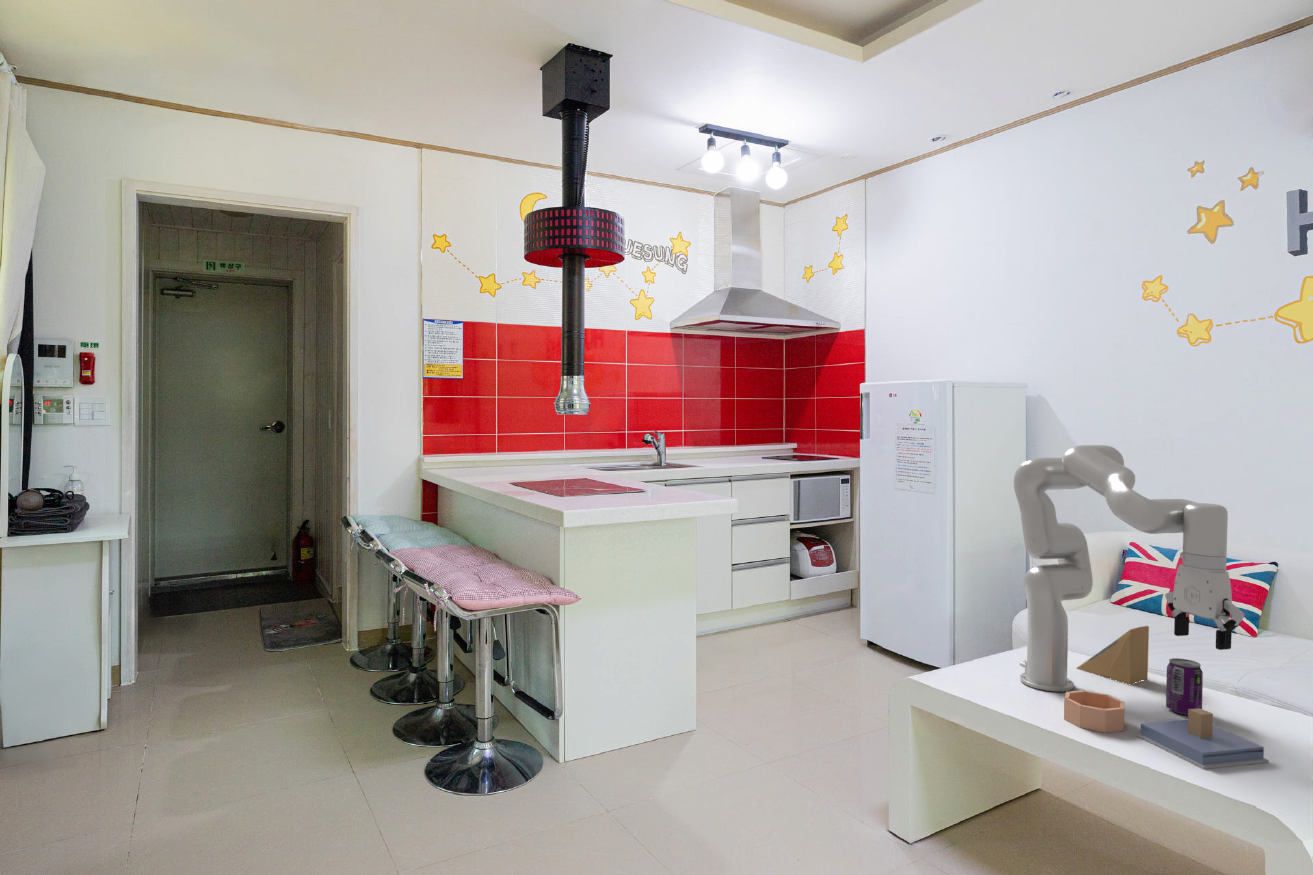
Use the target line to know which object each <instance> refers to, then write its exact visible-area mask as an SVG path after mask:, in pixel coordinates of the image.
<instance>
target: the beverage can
mask: <svg viewBox="0 0 1313 875" xmlns="http://www.w3.org/2000/svg"><path fill="white" fill-rule="evenodd" d="M1203 676H1204V674H1203V669H1202V668H1201V664H1200V662H1197V661H1195V660H1192V659H1187V658H1177V657H1174V658H1169V663H1168V664H1167V666H1166V681H1165V682H1166V688H1165V690H1166V691H1165V692H1166V694H1165V696H1166V697H1165V706H1166V708H1168V709H1169V710H1171V711H1172V712H1174V713H1175V714H1178V713H1179V714H1180V715H1182V714H1184V715H1183V716H1188V709H1197V708H1201V709H1203V688H1204V686H1203V684H1204V682H1203V681H1204V678H1203ZM1179 714H1178V715H1179Z"/></svg>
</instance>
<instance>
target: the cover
mask: <svg viewBox="0 0 1313 875" xmlns="http://www.w3.org/2000/svg"><path fill="white" fill-rule="evenodd" d="M1213 715H1214V713H1213V712H1209V711H1208V710H1205V709H1203V708H1202V709H1201V708H1197V709H1188V715H1187V718H1186V719H1177V720H1176V719H1175V720H1174V719H1173V720H1167V721H1166V720H1164V721H1153V722H1141V723H1140V733H1139V734H1140V735H1142V736H1144V737H1146V738H1148V739H1150V740H1152V741H1154V742H1156V743H1159V744H1161V745H1163V746H1165V747H1167V748H1169V749H1171V750H1173V751H1175V752H1177V753H1179V754H1181V755H1183V756H1185V757H1187V758H1189V759H1191V760H1193V761H1195V762H1197V763H1199V764H1201V765H1209V764H1219V763H1229V762H1239V761H1248V760H1258V759H1264V758H1265V757H1264V753H1265V750H1264V749H1265V748H1264V746H1263V745H1261V744H1258V743H1256V742H1254V741H1251V740H1248V739H1247V738H1244V737H1242V736H1239V735H1237V734H1234V733H1232V732H1230V731H1227V730H1225V729H1222V728H1221V727H1219V726H1216V725H1214V724H1213V723H1214V716H1213Z"/></svg>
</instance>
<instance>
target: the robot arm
mask: <svg viewBox="0 0 1313 875" xmlns="http://www.w3.org/2000/svg"><path fill="white" fill-rule="evenodd" d="M1135 483H1136V474H1135V473H1134V471H1133V470H1132V469H1131V468H1129V467H1128V466H1127V467H1126V466H1125V460H1124V457H1123V454H1121V452H1120V451H1119V450H1118V449H1116V448H1115V447H1113V446H1110V445H1105V444H1098V445H1097V444H1083V445H1082V444H1081V445H1076V446H1073V447H1071V448H1069V449H1068V450H1067V451H1066V452H1065V453H1064V454H1063V456H1062V457H1037V458H1032V459H1031V458H1030V459H1029V460H1025V461H1024V462H1022V463H1021V464H1020V465H1019V466H1018V467H1017V468H1016V470H1015V472H1014V476H1013V489H1014V494H1015V496H1016V499H1017V504H1018V507H1019V511H1020V520H1021V525H1022V526H1021V527H1022V534H1023V540H1024V546H1025V550H1026V553H1027V554H1028V556H1030V557H1031V558H1033V559H1036V560H1057V563H1053V564H1052V563H1051V564H1041V565H1036V566H1034V567H1031V568H1030V569H1028V571H1026V573H1025V574H1024V579H1023V586H1024V592H1025V597H1026V605H1027V606H1026V607H1027V608H1026V609H1027V623H1026V624H1027V630H1026V631H1027V633H1026V634H1027V635H1026V636H1027V637H1026V640H1027V642H1026V647H1027V648H1026V649H1027V650H1026V655H1027V656H1026V658H1025V659H1024V661H1022V660H1021V661H1020V662H1019V666H1021V667H1022V668H1024V672H1022V674H1020V676H1019V679H1020V681H1021V683H1023V684H1024V685H1026V686H1028V687H1031V688H1034V689H1038V690H1041V691H1048V692H1070V691H1073V689H1074V687H1075V683H1074V682H1073V681H1072V679H1070V678H1068V658H1069V657H1068V653H1069V652H1068V651H1069V650H1068V647H1069V646H1068V645H1069V644H1068V643H1069V621H1068V620H1069V618H1068V614H1067V612H1066V609H1065V608H1064V606H1063V603H1062V602H1063V601H1072V600H1082V599H1084V598H1086V597H1088V596H1089V595H1090V594H1091V593H1092V590H1093V584H1094V582H1093V581H1094V580H1093V572H1092V566H1091V565H1092V564H1091V559H1090V553H1089V546H1088V542H1087V538H1086V536H1085V534H1084V532H1083V531H1082V529H1081V528H1080V527H1078V526H1076V525H1075V524H1073V523H1068V522H1058V519H1057V512H1056V508H1055V505H1054V503H1053V501H1052V499H1051V498H1050V496H1049V495H1048V494H1047V493H1046V491H1048V490H1076V489H1080V488H1081V489H1082V488H1085V487H1088V488H1090V489H1092V490H1093V491H1095V493H1097V494H1099V495H1100V496H1103V497H1104V498H1105V501H1106V504H1107V506H1108V507H1109V510H1110V511H1111V512H1112V514H1113V515H1114V516H1115V517H1117V518H1118V519H1119V520H1121V521H1123V522H1124V523H1125V524H1127V525H1129V526H1130V527H1132V528H1134V529H1135V530H1138V531H1140V532H1142V533H1145V534H1149V535H1157V534H1160V535H1161V534H1183V535H1182V552H1180V554H1179V557H1180V559H1182V564H1179V565H1178V568H1177V571H1176V575H1175V579H1174V586H1173V591H1169V592H1167V593H1165V595H1164V597H1165V599H1166V602H1167V607H1168V608H1169V610H1170V611H1171V616H1172V617H1173V618H1174V625H1173V626H1174V627H1173V628H1174V629H1173V634H1174V636H1176V637H1183V636H1185V637H1187V636H1189V633H1190V616H1188V615H1192V616H1194V617H1197V618H1198V617H1199V618H1202V619H1205V620H1213V622H1215V625H1216V626H1217V628H1218V629H1216V631H1215V649H1216V650H1219V651H1222V650H1225V651H1226V650H1231V648H1232V636H1233V635H1232V632H1234V631H1235V630H1236V629H1237V628H1238V627H1239V626H1240V625H1241V622H1242V621H1243V619H1244V618H1245V613H1244V611H1242V610H1241V609H1240V608H1238V607H1237V606H1236V605H1234V604H1233V603H1232V602H1233V595H1232V585H1231V584H1232V583H1231V578H1230V575H1229V571H1227V553H1228V551H1227V550H1228V549H1227V548H1228V520H1229V519H1228V517H1229V516H1228V510H1227V508H1226V507H1225V506H1224V505H1220V504H1216V503H1215V504H1214V503H1208V502H1207V503H1206V502H1195V501H1192V500H1188V499H1184V498H1158V499H1157V498H1155V499H1149V498H1148V497H1146V496H1143V495H1142V494H1140V493H1138V492H1137V491H1136V490H1134V489H1133V488H1134V486H1135Z"/></svg>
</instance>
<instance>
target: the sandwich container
mask: <svg viewBox="0 0 1313 875" xmlns="http://www.w3.org/2000/svg"><path fill="white" fill-rule="evenodd" d="M1149 629H1150V627H1149V625H1144V626H1138V627H1133V628H1130V629H1129V630H1127V631H1126V632H1125V633H1124V634H1121V636H1119V637H1118V638H1117V639H1115V640H1114V641H1113V642H1111V643H1110V644H1108V645H1107V646H1105V647H1104V648H1102V649H1101V650H1099V651H1098V652H1097V653H1096V654H1094V655H1093V656H1091V657H1090V658H1089V659H1087V660H1085V661H1084V662H1083V663H1081V664H1080V665H1079V666H1077V667H1076V668H1075V669H1077V670H1080V671H1083V672H1086V673H1090V674H1092V673H1093V674H1092V675H1096V676H1099V675H1100V676H1099V677H1102V676H1103V677H1102V678H1106V679H1108V678H1109V680H1112V681H1115V680H1117V681H1116V682H1118V681H1119V683H1122V682H1124V683H1123V684H1125V683H1127V684H1126V685H1129V684H1131V685H1134V684H1133V683H1135V682H1139V681H1141V680H1147V681H1148V678H1149V677H1148V675H1149V674H1148V672H1149V669H1148V668H1149V641H1150V640H1149V638H1150V636H1149V635H1150V630H1149ZM1110 678H1111V679H1110ZM1139 683H1140V682H1139ZM1135 684H1136V683H1135Z"/></svg>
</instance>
